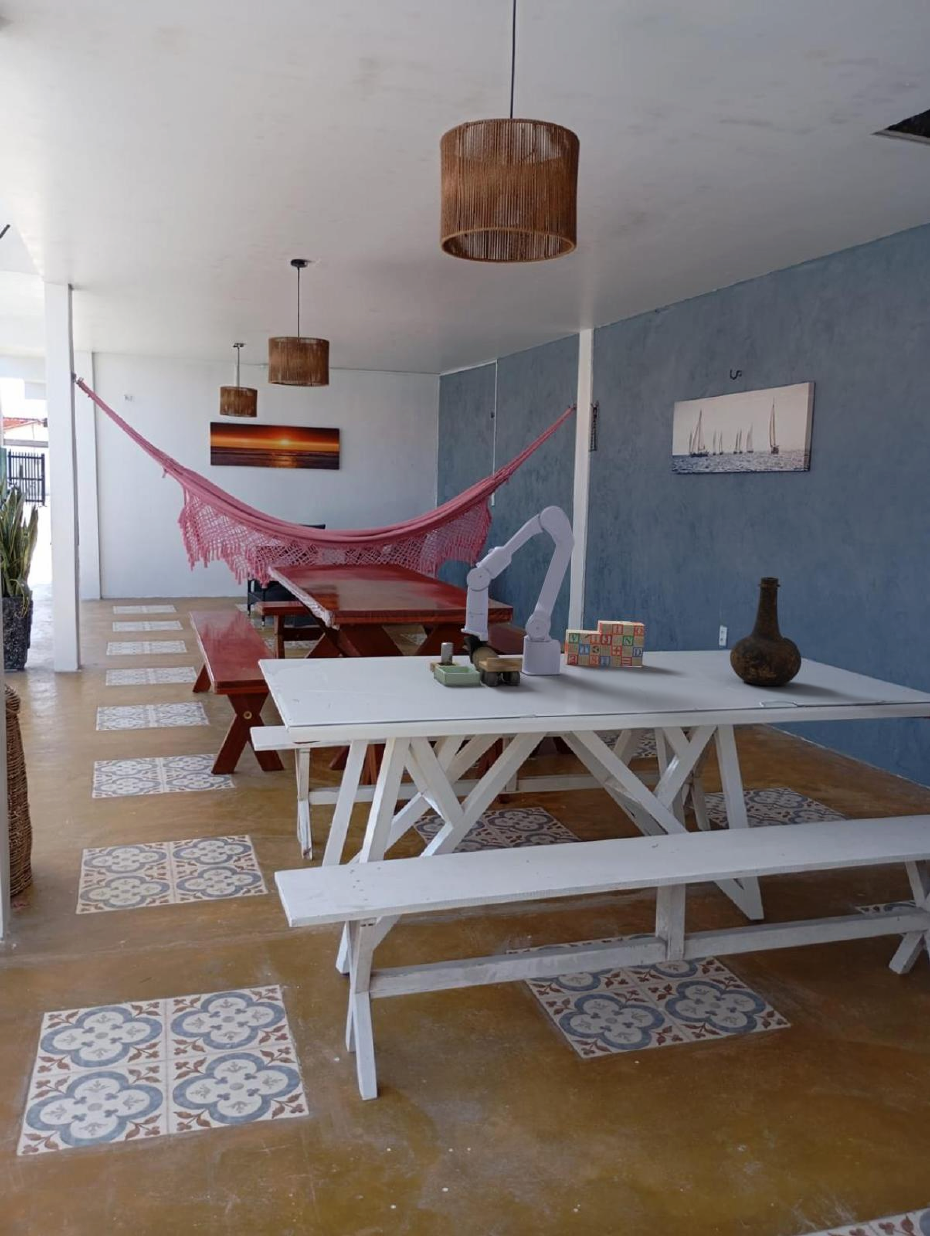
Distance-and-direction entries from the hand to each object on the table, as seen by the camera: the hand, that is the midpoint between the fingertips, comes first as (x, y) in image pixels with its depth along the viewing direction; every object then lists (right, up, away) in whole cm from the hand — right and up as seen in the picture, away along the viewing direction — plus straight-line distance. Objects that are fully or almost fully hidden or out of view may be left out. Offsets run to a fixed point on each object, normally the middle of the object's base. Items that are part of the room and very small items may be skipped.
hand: (474, 663), depth 260 cm
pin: (-8, -2, -6) cm, 10 cm away
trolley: (+6, -4, -19) cm, 20 cm away
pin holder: (-8, -2, -6) cm, 10 cm away
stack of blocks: (+36, -1, +16) cm, 40 cm away
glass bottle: (+76, -5, -3) cm, 76 cm away
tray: (-5, -4, -19) cm, 20 cm away
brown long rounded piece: (+3, -3, -8) cm, 9 cm away
